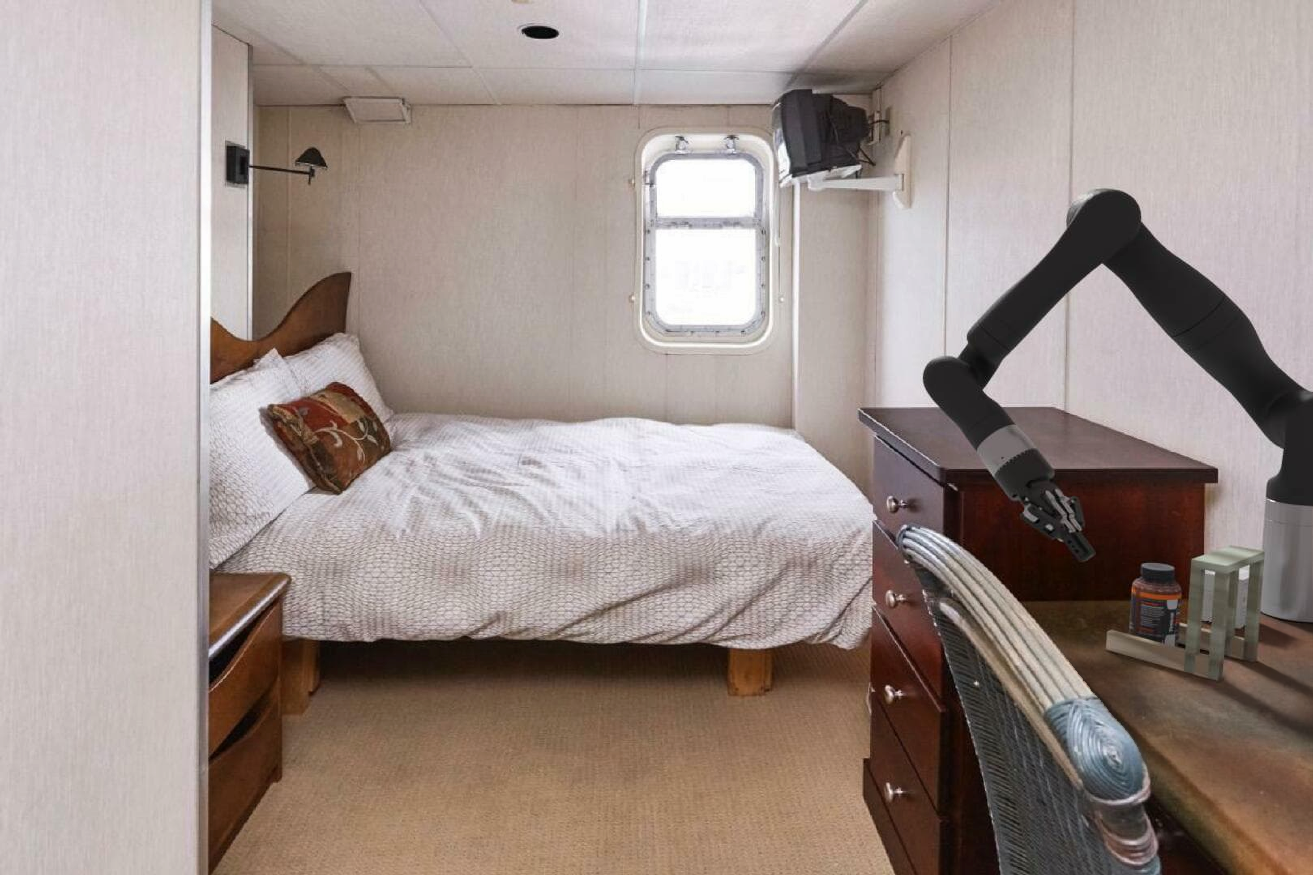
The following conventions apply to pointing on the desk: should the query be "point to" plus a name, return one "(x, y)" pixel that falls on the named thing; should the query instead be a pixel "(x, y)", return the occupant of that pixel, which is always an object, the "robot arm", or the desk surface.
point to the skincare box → (1240, 597)
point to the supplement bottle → (1156, 604)
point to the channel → (1223, 618)
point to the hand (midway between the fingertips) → (1088, 558)
